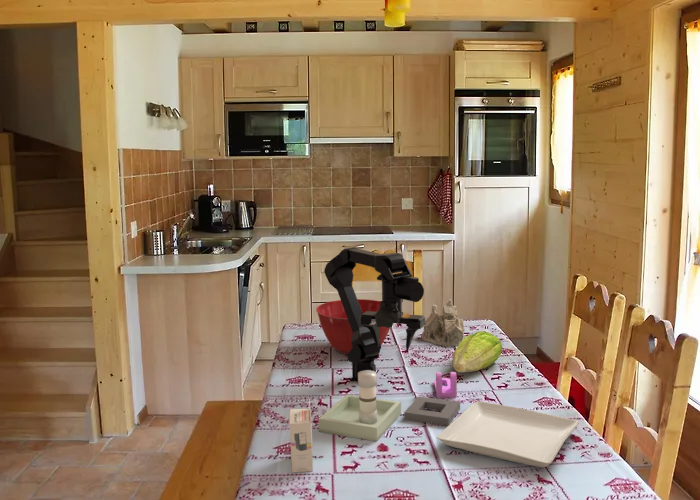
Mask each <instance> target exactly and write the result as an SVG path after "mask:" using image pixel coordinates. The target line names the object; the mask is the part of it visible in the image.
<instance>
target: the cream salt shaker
mask: <svg viewBox="0 0 700 500" xmlns="http://www.w3.org/2000/svg"><path fill="white" fill-rule="evenodd" d="M377 377H378V376H377V371H376V372H375V371H371V370H364V371H360V372H358V382H357V385H358V396H359V422H360V423H362V424H369V425H371V424H375V423H376V422H377V409H376V399H377V383H378V382H377V381H378V380H377Z"/></svg>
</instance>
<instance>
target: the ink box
mask: <svg viewBox="0 0 700 500" xmlns="http://www.w3.org/2000/svg"><path fill="white" fill-rule="evenodd" d="M308 406H309V407H308V408H292V409H291V408H290V409H289V440H290V458H291V459H290V460H291V473H304V472H305V473H306V472H313V471H314V465H313V463H314V459H313V431H312V430H313V428H312V415H311V412H312V411H311V400H310V398H308Z"/></svg>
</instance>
